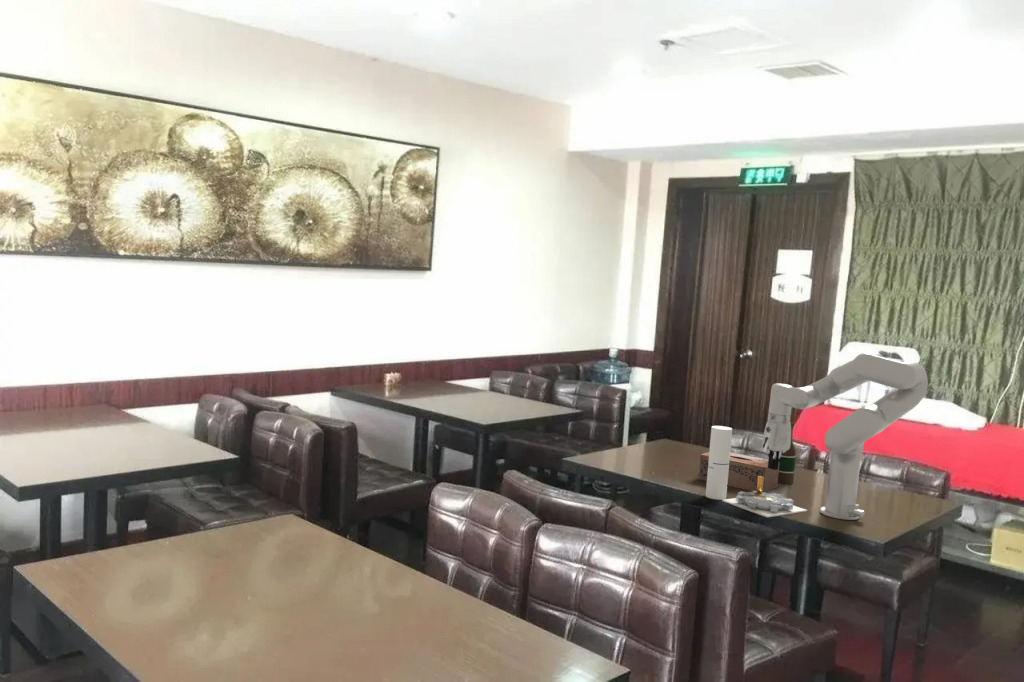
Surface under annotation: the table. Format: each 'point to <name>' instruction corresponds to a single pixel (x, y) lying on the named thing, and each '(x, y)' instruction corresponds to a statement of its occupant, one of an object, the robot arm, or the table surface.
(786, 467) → the beer bottle
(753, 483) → the tissue box cover
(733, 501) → the sprocket base
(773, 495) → the sprocket
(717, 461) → the cylindrical container
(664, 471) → the table surface
